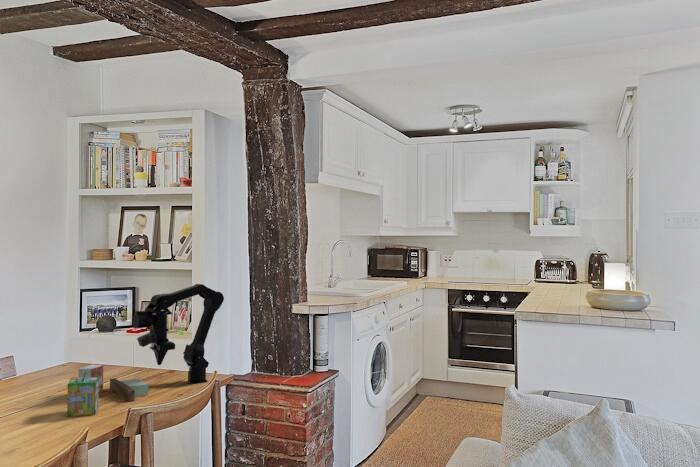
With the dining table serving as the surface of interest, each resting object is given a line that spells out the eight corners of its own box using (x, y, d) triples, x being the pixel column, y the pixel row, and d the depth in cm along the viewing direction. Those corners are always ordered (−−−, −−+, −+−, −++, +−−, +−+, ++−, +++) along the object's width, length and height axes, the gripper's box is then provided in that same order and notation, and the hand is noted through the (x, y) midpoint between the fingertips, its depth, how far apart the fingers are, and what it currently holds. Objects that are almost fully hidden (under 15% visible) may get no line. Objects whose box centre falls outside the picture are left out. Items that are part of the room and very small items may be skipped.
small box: (90, 396, 226) (91, 369, 226) (77, 395, 227) (78, 368, 227) (103, 391, 234) (103, 364, 234) (91, 390, 235) (91, 364, 235)
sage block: (138, 389, 238) (138, 378, 238) (148, 395, 228) (148, 384, 228) (120, 392, 234) (120, 380, 234) (129, 398, 224) (130, 386, 224)
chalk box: (71, 410, 208) (71, 368, 208) (99, 408, 211) (99, 366, 211) (66, 417, 199) (66, 373, 199) (95, 415, 202) (95, 372, 202)
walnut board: (115, 388, 239) (115, 378, 239) (134, 400, 220) (134, 390, 220) (109, 388, 237) (109, 378, 237) (129, 401, 219) (129, 391, 219)
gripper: (131, 325, 240) (131, 363, 240) (147, 330, 226) (147, 371, 225) (158, 323, 247) (158, 360, 247) (175, 328, 233) (175, 367, 232)
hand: (159, 364), depth 238 cm, fingers closed
